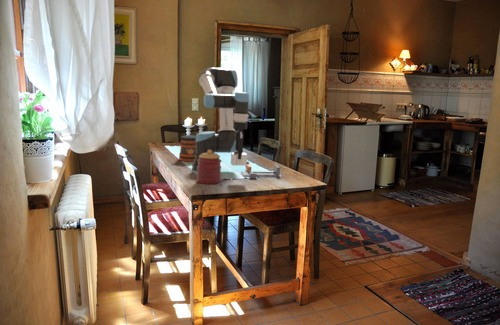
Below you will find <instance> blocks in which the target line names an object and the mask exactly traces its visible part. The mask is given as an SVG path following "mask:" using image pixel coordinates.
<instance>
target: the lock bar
mask: <svg viewBox="0 0 500 325" xmlns="http://www.w3.org/2000/svg"><path fill="white" fill-rule="evenodd" d="M245 169H246V172H252V166H251V165H250V162H249V161H247V166H245Z"/></svg>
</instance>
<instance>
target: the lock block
mask: <svg viewBox="0 0 500 325" xmlns="http://www.w3.org/2000/svg"><path fill="white" fill-rule="evenodd" d="M236 162H237V153H236V152H232V153H230V164H231V166H237V165H236ZM247 162H248V154H247V153H246V152H243V153H242V165H239V167H240V166H242V167H243V166H244V167H246V166H247Z"/></svg>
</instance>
